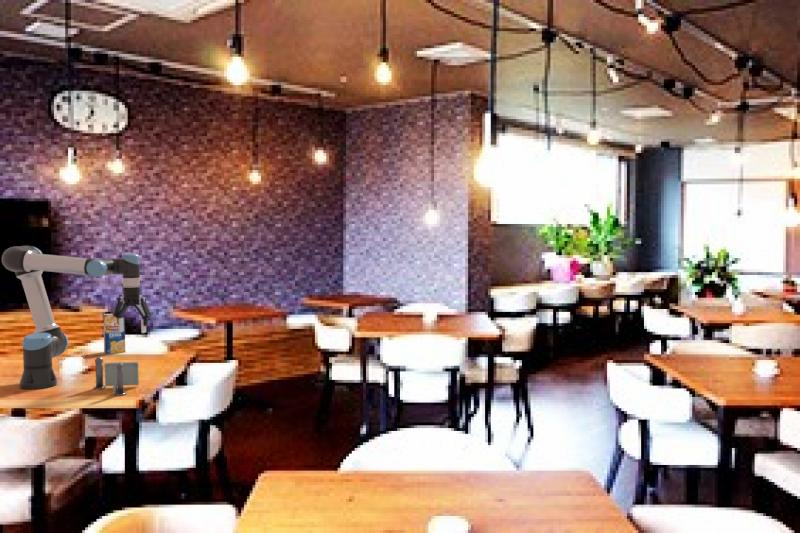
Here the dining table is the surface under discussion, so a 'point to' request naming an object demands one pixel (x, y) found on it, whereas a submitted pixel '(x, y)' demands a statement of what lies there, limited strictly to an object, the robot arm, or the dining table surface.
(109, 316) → the blue cracker box
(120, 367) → the latch post
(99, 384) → the hinge post
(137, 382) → the gate
